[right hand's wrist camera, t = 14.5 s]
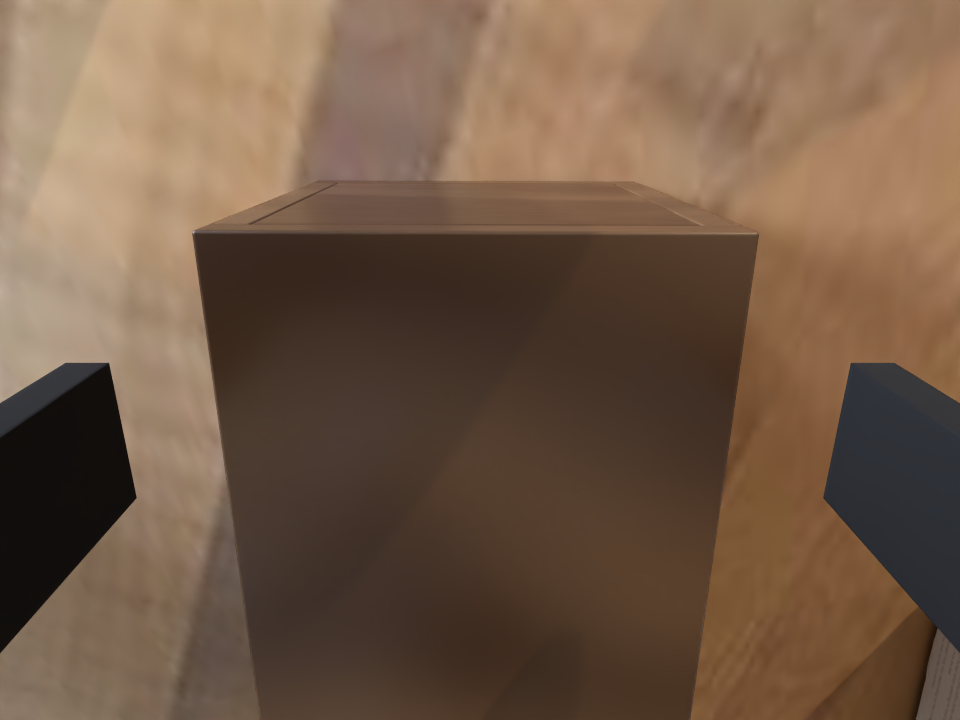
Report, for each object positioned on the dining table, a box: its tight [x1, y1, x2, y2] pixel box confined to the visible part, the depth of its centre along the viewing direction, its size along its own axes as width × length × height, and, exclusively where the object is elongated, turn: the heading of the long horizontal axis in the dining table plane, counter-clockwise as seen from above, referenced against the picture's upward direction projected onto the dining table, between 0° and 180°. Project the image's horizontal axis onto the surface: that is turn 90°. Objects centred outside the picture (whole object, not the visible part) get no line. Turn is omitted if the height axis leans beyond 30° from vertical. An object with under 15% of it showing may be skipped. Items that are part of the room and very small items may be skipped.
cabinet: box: [193, 181, 759, 720], centre depth 22 cm, size 22×11×11 cm, turn 0°
